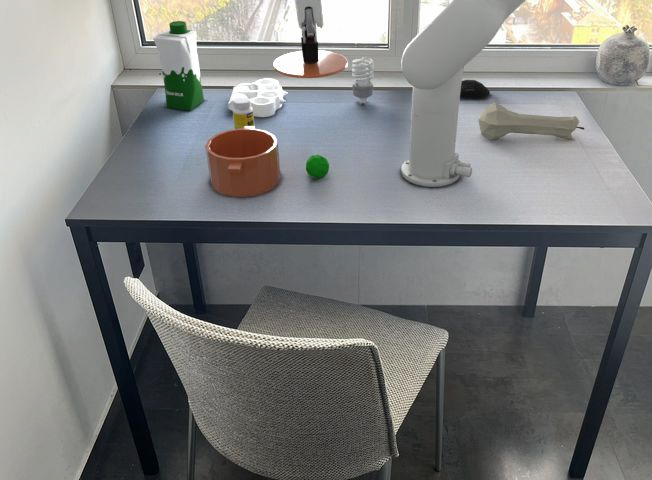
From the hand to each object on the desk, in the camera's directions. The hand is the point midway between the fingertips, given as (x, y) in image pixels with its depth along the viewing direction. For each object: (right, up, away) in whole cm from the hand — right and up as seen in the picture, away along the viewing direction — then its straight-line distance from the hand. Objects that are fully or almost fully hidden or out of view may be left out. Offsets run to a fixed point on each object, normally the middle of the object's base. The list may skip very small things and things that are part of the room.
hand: (310, 58), depth 141 cm
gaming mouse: (+37, +3, +41) cm, 56 cm away
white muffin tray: (-16, -1, +37) cm, 40 cm away
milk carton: (-35, -1, +36) cm, 50 cm away
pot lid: (0, -1, +1) cm, 1 cm away
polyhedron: (+1, -24, +4) cm, 24 cm away
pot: (-14, -25, +3) cm, 29 cm away
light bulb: (+11, -1, +37) cm, 38 cm away
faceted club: (+50, -13, +19) cm, 55 cm away
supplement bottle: (-17, -11, +22) cm, 30 cm away
